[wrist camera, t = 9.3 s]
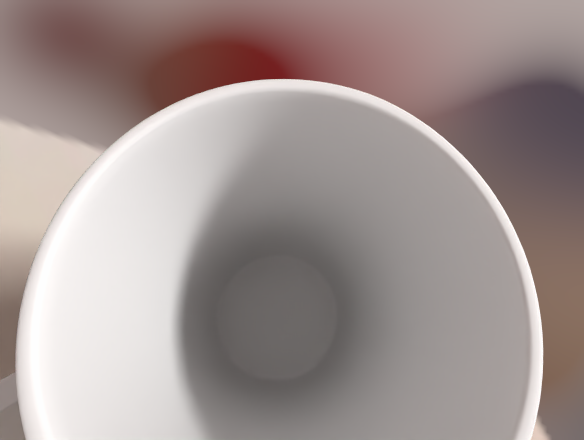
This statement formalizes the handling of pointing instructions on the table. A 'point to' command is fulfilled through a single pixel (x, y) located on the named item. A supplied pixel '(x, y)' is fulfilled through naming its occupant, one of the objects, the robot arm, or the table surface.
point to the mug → (280, 282)
